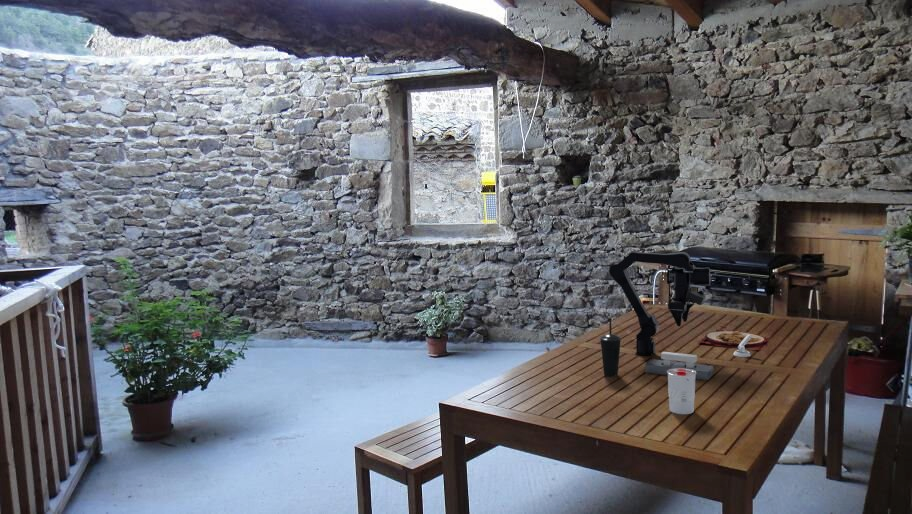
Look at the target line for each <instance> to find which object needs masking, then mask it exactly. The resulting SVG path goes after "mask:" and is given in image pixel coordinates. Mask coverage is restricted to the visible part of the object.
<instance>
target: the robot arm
mask: <svg viewBox="0 0 912 514" xmlns="http://www.w3.org/2000/svg"><path fill="white" fill-rule="evenodd" d="M636 262H637V263H648V264H649V263H650V264H663V265H667V266H670V267H672V269H670V270H669V271H668V272H669V274H674V285H673V286H674V287H673V288H672V291H673V293H674V294H673V295H674V297H673V298H672V300H671V301H669V302H668V303H667V310H669V311H668V312H670V314H671V315H672V318H673V320H674V322H675V324H676V326H677V327H681V325H682V322H684V323H687V321H688V318H689V315H690V311H691V308H693V306H695V304H697V305H699V306H702V305H703V304H704V302H705V299H706V297H707V296H706V295H705V291H704V290H702V289H700V290H699V291H694V290H693V287H692V286H691V283H693V284H694V286H711V276H712V275H711V269H710V267H696V266H695V264H694V263H693V262H692V259H691V256H690V254H688V253H687V252H686V251H681V252H680V251H679V252H672V253H660V252H659V253H657V252H646V251H645V252H644V251H636V250H634V251H631V252H629V254H628V255H626V256H625V258H623V259H622V260H621V261H619V262H616V263H613V264H612V265H611V266H610V267H609V270H608V273H609V275H610V277H611V278H612V279H613V280H614V281H615V282H616V283H617V284H618V285H619V286H620V287H621V289H622V290H621V291H623V293H624V295H625V296H626V298H627V300H628V302H629V304H630V305H631V307H632V309H633V311H634V313H635V314H636V317H637V319H638V325H639V327H640V330H639V332H637V333H636V335H635V337H636V338H635V339H636V347H635V348H636V352H635V353H634V354H635V355H640V356H647V357H651V356H652V355H654V354H655V353H656V342H655V338H653V336H655V335H656V334H657V332H658V331H659V328H660V325H659V323H660V322H659V321H658V320H657V318H656V315H655V314H654V313H652V314H651V313H650V312H648V311H647V309H646V307H645V305H644V303H643V302H642V300H641V298H640V296H639V294H638V293H637V291H636V289H635V288H634V285H633V284H632V282H631V279H630V275H629V271H628V268H630V267H631V266H632V265H633V264H634V263H636Z"/></svg>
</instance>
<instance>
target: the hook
mask: <svg viewBox="0 0 912 514" xmlns="http://www.w3.org/2000/svg"><path fill="white" fill-rule="evenodd" d="M750 338H751V336H750V335H749V334H748V335H747V336H746V337H745V338H744V339H743V341H742V342H741V343H740V344H739V346H738V348H737V349H736V350H735V351H734V352H733V355H734V356H735V357H740V358H748V357H751V352H750V351H749V350H745V349H746V347H744V345H745V344H746V343H747V342H748V341H749V340H750Z"/></svg>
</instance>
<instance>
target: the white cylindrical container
mask: <svg viewBox="0 0 912 514" xmlns="http://www.w3.org/2000/svg"><path fill="white" fill-rule="evenodd" d="M667 373H668V375H667V390H668V404H669V405H668V406H669V408H668V409H669V411H670V413H673V414H677V415H691V414H692V413H694V411H695V398H696V397H695V396H696V395H695V393H696V379H695V377H696V372H695V371H693V370H690V369H684V368H674V369H669V370H667Z"/></svg>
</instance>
